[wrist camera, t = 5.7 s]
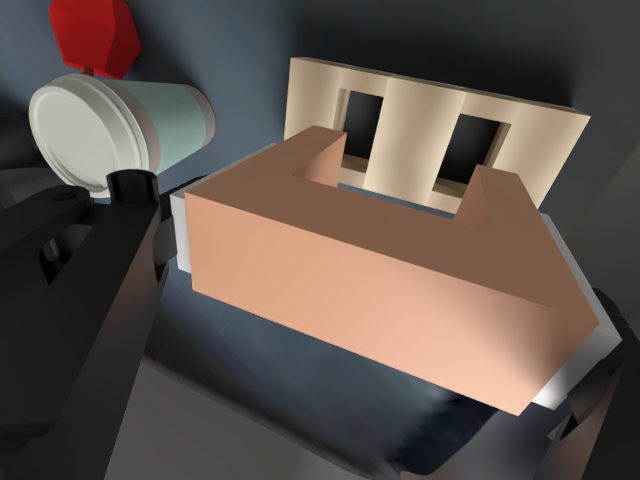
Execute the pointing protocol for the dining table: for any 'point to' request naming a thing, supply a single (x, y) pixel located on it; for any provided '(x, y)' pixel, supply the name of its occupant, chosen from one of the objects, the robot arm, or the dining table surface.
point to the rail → (429, 130)
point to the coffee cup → (116, 127)
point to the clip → (392, 270)
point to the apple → (95, 36)
